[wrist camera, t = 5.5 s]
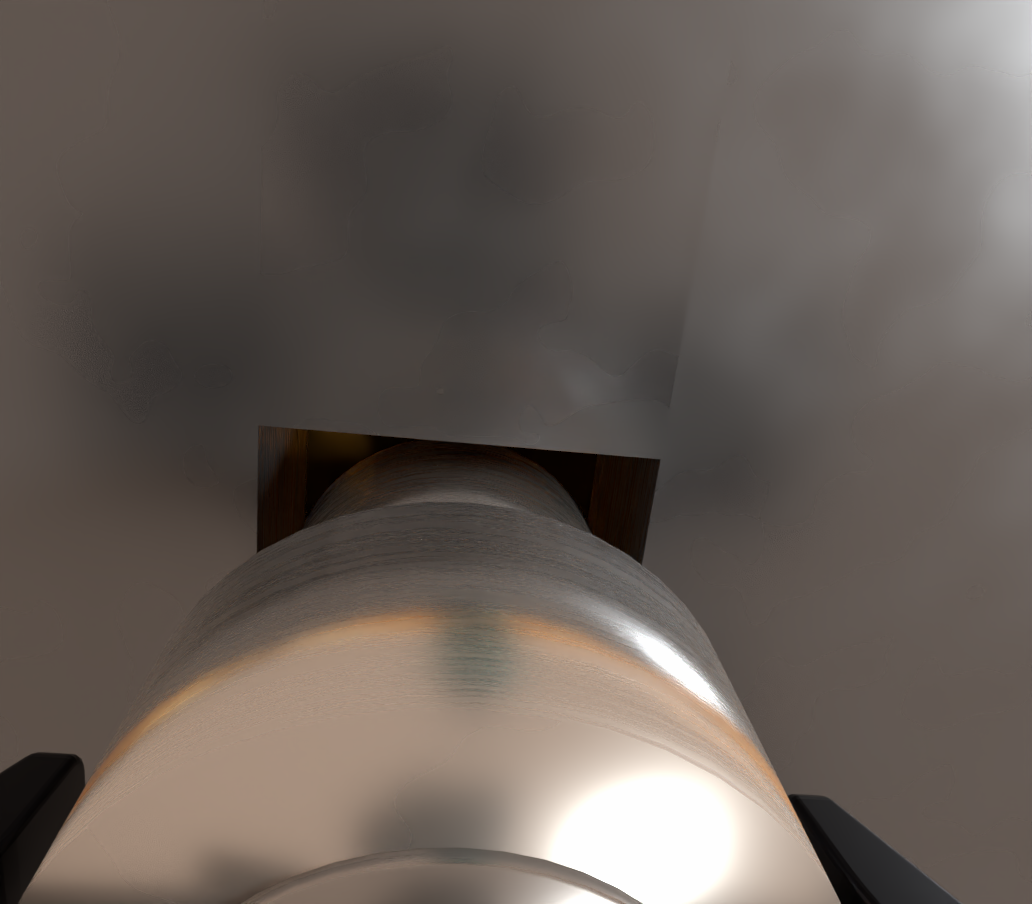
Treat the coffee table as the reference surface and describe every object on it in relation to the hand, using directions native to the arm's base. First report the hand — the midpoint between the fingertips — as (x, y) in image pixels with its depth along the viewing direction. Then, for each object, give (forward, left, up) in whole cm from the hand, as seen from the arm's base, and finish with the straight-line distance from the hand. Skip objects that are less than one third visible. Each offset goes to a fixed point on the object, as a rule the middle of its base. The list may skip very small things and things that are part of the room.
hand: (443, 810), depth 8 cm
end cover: (0, 0, -5) cm, 5 cm away
